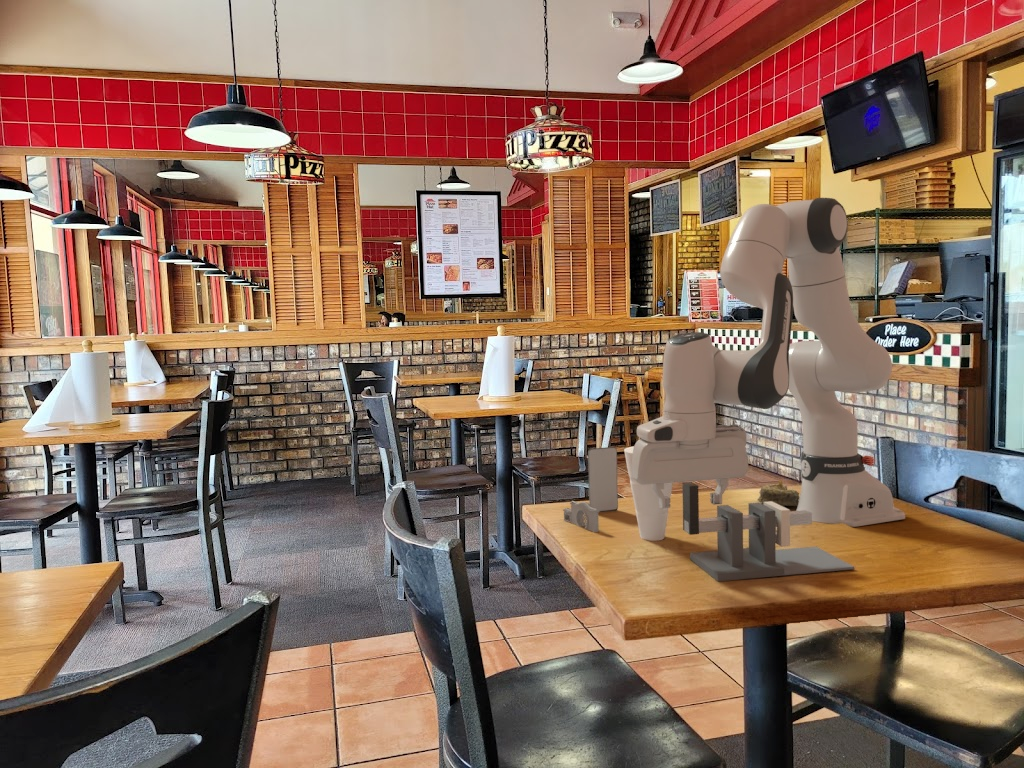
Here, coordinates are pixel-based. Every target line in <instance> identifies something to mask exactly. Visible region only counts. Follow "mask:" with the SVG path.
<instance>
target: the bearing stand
mask: <svg viewBox="0 0 1024 768" xmlns="http://www.w3.org/2000/svg"><path fill="white" fill-rule="evenodd" d="M750 514H757V515H759V516H760V528H756V529H748V547H745V548H744V533H743V532H744V529H743V515H744V513H743V512H741V511H739V510H737V509H736V508H734V507H732V506H731V505H729V504H724V505H723V504H718V505H716V517H726V518H728V531H718V532H716V534H717V535H716V536H717V540H716V541H717V550H708V551H699V552H697V551H696V552H689V560H690V561H691V562H693V563H694V564H695V565H697V566H698V567H699V568H700V569H702V570H703V571H704V572H705V573H706V574H708V576H710V577H711V578H713V579H714V580H715V581H717V582H726V581H727V582H728V581H737V580H747V579H759V578H769V577H770V578H771V577H781V576H785V575H784V568H783V567H781V566H780V565H778V564H776V550H777V549H776V543H775V510H773V509H771V508H769V507H767V506H765V505H764V503H761V502H750V503H748V515H750Z"/></svg>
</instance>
